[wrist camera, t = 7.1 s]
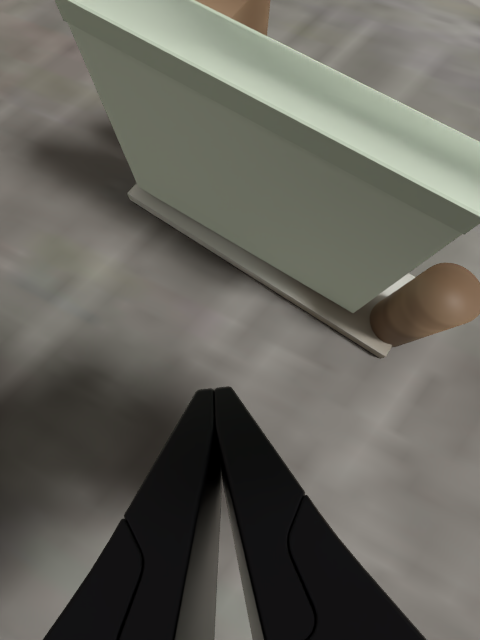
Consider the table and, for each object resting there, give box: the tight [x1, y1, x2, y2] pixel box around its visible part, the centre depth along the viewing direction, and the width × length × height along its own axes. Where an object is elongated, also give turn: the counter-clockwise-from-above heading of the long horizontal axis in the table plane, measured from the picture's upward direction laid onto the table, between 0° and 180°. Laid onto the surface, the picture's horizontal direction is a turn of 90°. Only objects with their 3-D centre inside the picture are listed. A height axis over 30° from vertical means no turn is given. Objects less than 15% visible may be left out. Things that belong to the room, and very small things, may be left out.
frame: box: [127, 0, 480, 358], centre depth 13 cm, size 6×17×9 cm, turn 56°
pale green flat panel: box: [55, 0, 480, 313], centre depth 13 cm, size 13×2×8 cm, turn 58°
